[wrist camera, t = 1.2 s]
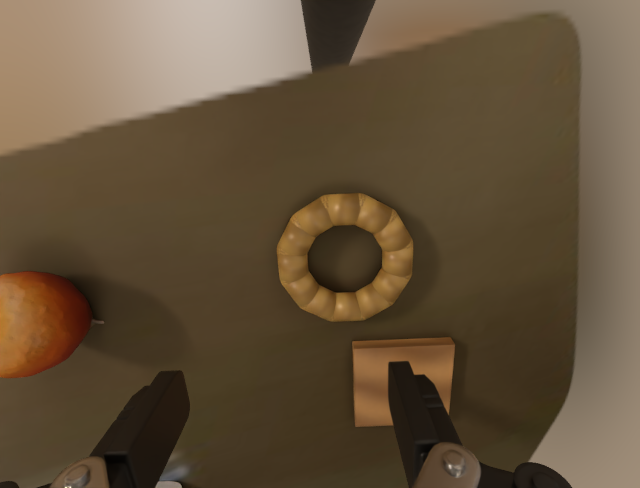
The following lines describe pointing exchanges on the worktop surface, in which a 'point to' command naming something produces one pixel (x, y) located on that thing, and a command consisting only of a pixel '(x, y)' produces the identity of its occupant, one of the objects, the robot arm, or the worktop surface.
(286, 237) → the ring
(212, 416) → the worktop surface
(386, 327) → the worktop surface
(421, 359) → the wooden peg stand
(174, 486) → the charger
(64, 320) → the fruit
